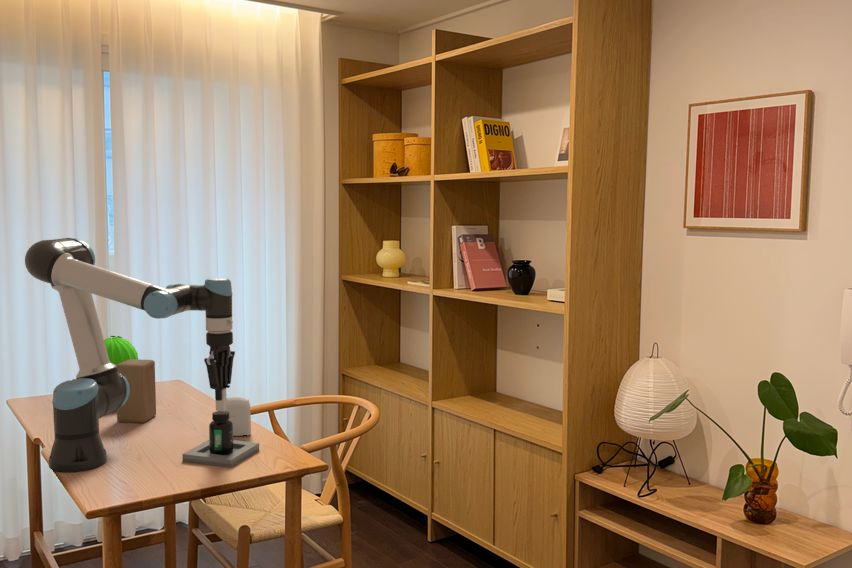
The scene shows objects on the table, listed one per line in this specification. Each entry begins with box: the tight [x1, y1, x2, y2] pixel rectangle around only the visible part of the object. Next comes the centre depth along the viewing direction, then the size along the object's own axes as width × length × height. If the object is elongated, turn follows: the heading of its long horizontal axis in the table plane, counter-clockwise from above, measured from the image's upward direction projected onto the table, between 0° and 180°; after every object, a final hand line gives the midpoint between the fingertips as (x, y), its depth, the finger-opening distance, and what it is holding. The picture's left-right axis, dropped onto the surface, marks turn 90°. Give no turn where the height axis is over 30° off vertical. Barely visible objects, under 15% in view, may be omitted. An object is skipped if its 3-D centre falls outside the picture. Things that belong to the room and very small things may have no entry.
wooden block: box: [116, 358, 157, 424], centre depth 266 cm, size 10×10×20 cm
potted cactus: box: [104, 335, 139, 365], centre depth 288 cm, size 22×22×25 cm
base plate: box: [181, 439, 260, 468], centre depth 230 cm, size 16×16×2 cm
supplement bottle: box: [208, 410, 234, 455], centre depth 229 cm, size 7×7×12 cm
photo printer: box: [226, 396, 252, 437], centre depth 249 cm, size 10×4×12 cm, turn 96°
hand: (221, 410), depth 229 cm, fingers closed
